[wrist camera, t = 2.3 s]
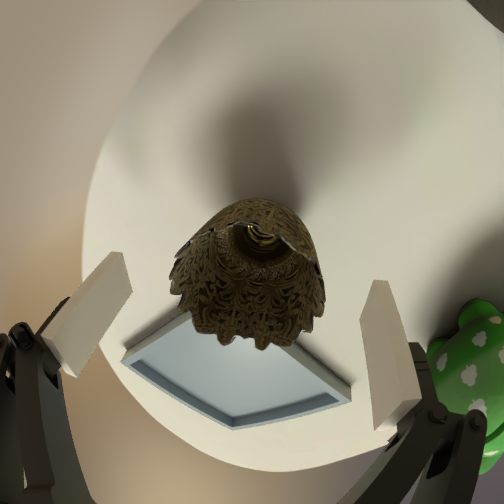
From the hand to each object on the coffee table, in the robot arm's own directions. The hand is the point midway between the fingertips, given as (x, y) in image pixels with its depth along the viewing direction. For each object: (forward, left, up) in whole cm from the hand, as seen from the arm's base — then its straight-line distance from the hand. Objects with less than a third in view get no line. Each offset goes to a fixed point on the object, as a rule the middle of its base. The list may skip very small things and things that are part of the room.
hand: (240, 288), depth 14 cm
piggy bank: (-10, +24, -7) cm, 27 cm away
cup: (0, 0, -7) cm, 7 cm away
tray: (+16, +12, -7) cm, 21 cm away
